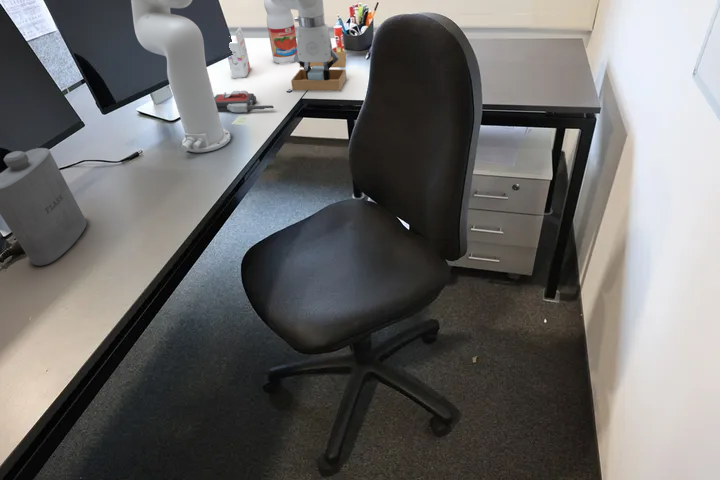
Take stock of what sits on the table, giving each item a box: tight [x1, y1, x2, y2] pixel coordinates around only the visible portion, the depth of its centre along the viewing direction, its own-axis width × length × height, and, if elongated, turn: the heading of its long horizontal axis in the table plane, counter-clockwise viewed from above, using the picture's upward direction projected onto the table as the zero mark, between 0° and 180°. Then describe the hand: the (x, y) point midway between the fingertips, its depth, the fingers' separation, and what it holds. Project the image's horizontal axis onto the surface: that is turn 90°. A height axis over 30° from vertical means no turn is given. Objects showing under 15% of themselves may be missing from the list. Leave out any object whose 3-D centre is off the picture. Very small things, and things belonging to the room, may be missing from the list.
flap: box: [299, 51, 347, 68], centre depth 157 cm, size 5×15×1 cm
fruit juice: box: [263, 0, 298, 64], centre depth 169 cm, size 9×9×28 cm
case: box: [308, 66, 324, 80], centre depth 154 cm, size 7×5×4 cm, turn 169°
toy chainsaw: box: [214, 90, 274, 113], centre depth 145 cm, size 9×4×20 cm
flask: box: [0, 147, 88, 267], centre depth 92 cm, size 15×6×20 cm, turn 175°
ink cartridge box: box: [227, 25, 251, 79], centre depth 165 cm, size 9×5×15 cm, turn 179°
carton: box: [290, 68, 347, 91], centre depth 155 cm, size 10×15×3 cm, turn 79°
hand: (318, 81), depth 155 cm, fingers closed on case, 4 cm apart
